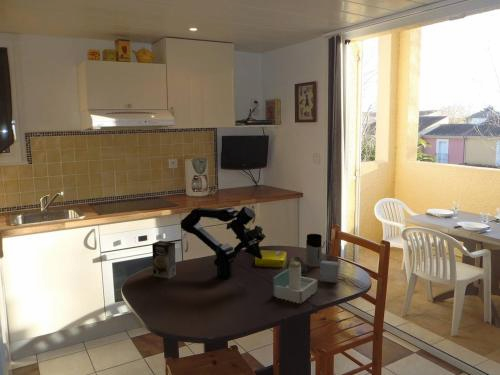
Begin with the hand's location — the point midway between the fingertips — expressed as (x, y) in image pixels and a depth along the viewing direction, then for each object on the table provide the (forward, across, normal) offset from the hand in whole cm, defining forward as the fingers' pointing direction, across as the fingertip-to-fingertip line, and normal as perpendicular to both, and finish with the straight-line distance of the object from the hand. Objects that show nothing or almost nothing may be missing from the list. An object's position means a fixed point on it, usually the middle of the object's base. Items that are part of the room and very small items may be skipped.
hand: (261, 258), depth 194 cm
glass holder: (+16, +39, +2) cm, 42 cm away
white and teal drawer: (+21, 0, -3) cm, 21 cm away
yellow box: (0, +30, +18) cm, 35 cm away
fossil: (+14, +21, +4) cm, 26 cm away
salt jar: (+20, 0, -4) cm, 20 cm away
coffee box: (-23, -14, +41) cm, 50 cm away
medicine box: (+26, +22, -7) cm, 34 cm away
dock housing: (+21, 0, -3) cm, 21 cm away
